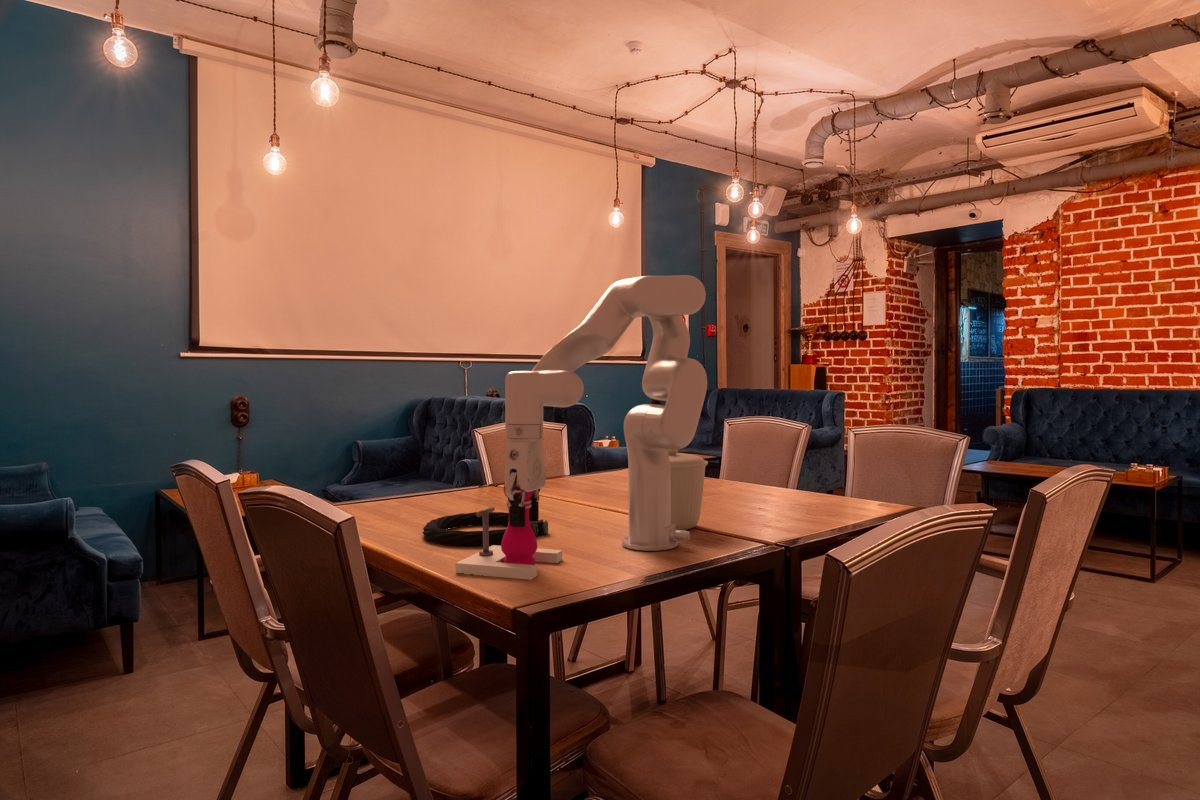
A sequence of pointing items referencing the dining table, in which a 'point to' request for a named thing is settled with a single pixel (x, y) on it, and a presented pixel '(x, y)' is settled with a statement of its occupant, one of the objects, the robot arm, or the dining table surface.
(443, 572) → the dining table surface
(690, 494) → the canister
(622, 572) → the dining table surface
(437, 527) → the cable lock
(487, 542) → the u-shaped stand
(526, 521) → the pepper mill
